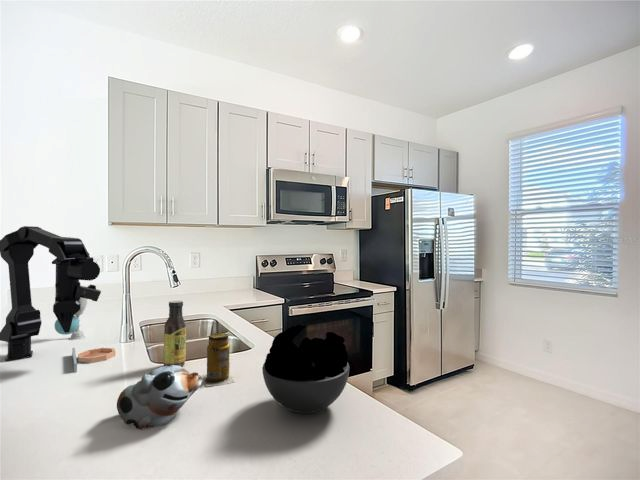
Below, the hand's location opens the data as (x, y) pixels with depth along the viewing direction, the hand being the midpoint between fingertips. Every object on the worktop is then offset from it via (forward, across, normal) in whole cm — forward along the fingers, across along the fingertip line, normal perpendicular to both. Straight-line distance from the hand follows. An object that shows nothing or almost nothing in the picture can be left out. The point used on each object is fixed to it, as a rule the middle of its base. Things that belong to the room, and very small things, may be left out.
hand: (67, 330), depth 101 cm
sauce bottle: (+11, -20, -26) cm, 35 cm away
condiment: (+11, -36, -34) cm, 51 cm away
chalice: (+11, +35, -3) cm, 37 cm away
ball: (-2, 0, 0) cm, 2 cm away
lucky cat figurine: (+11, -48, -17) cm, 52 cm away
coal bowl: (+11, -64, -44) cm, 79 cm away
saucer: (+11, +4, -8) cm, 14 cm away
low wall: (+11, +2, -2) cm, 11 cm away
